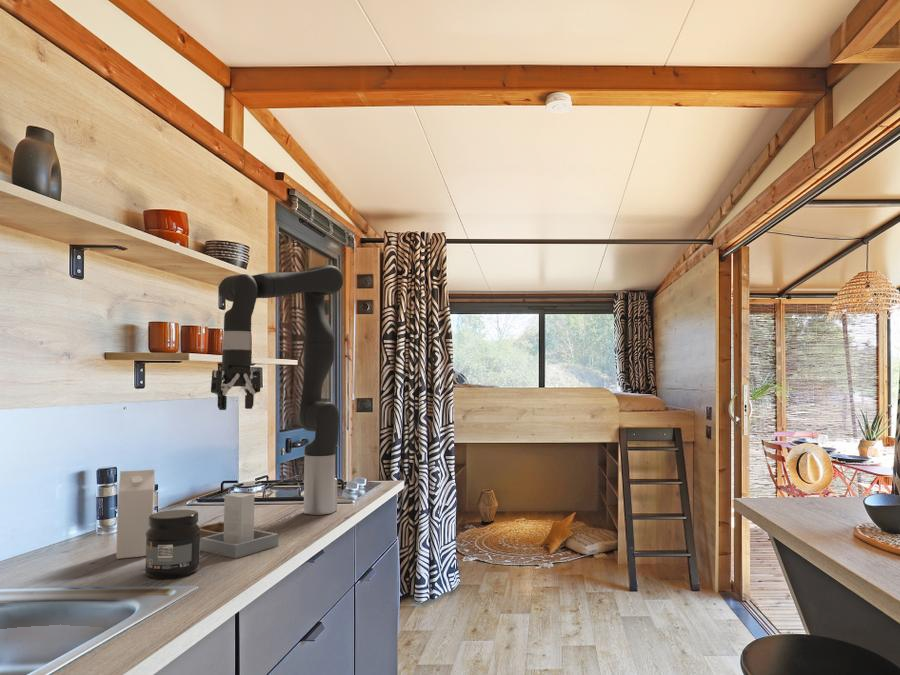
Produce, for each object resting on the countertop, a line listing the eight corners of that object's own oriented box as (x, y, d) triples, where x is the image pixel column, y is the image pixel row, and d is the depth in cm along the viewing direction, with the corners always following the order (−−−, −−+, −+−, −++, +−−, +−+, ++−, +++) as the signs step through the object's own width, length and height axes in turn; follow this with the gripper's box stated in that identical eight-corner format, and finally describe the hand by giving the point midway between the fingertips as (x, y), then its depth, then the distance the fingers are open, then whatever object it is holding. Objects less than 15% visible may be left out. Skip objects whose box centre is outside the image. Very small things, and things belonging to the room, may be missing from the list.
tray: (243, 538, 159) (243, 527, 159) (278, 545, 152) (278, 533, 152) (199, 550, 148) (199, 538, 148) (235, 558, 141) (235, 545, 141)
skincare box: (254, 545, 150) (255, 494, 151) (240, 549, 146) (241, 497, 147) (236, 541, 153) (237, 492, 154) (222, 545, 149) (223, 494, 150)
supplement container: (188, 562, 139) (189, 506, 139) (207, 572, 131) (209, 513, 132) (137, 572, 131) (139, 513, 132) (154, 584, 124) (156, 521, 124)
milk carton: (118, 551, 147) (121, 469, 148) (152, 548, 150) (154, 467, 151) (116, 559, 140) (118, 473, 142) (151, 556, 143) (153, 471, 144)
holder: (220, 531, 167) (220, 521, 167) (248, 536, 161) (248, 526, 161) (190, 538, 159) (190, 528, 159) (218, 544, 153) (218, 534, 153)
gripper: (224, 347, 161) (222, 410, 160) (267, 349, 173) (266, 408, 172) (205, 348, 165) (204, 410, 164) (248, 350, 177) (247, 408, 176)
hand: (235, 409), depth 168 cm, fingers open, 8 cm apart
